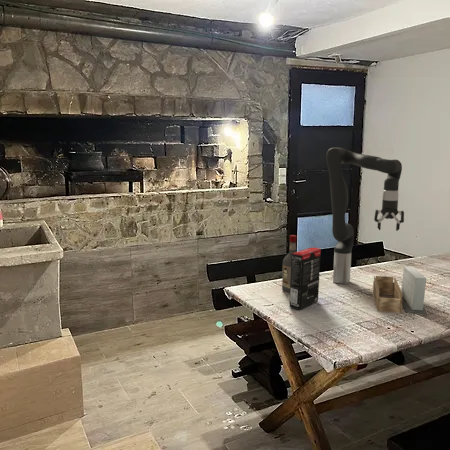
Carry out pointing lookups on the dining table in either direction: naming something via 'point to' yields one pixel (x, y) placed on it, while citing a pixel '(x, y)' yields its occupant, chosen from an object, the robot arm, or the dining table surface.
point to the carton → (391, 288)
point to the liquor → (288, 265)
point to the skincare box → (413, 287)
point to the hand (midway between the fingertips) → (388, 230)
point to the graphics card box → (304, 278)
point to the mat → (409, 310)
